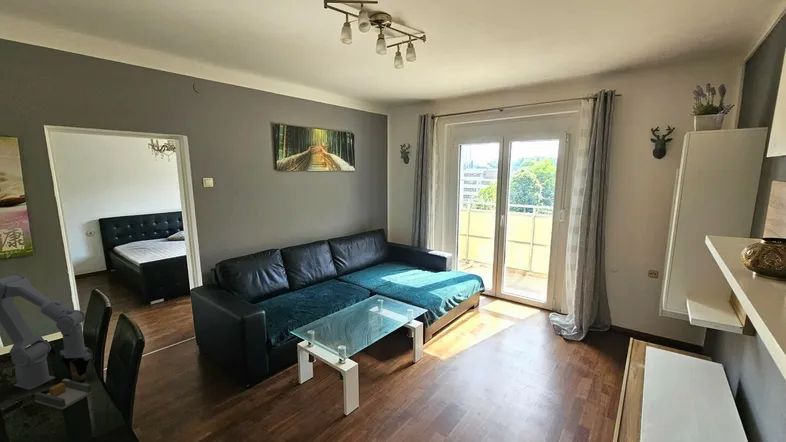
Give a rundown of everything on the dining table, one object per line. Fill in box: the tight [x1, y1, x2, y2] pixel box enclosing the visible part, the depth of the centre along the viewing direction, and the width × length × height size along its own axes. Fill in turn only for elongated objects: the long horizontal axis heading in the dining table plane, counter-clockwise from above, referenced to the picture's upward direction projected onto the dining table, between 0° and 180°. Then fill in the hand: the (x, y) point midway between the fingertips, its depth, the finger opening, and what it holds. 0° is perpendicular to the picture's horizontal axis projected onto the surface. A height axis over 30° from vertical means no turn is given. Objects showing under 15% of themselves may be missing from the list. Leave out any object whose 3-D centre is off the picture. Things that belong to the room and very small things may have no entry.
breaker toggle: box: [48, 382, 66, 396], centre depth 121 cm, size 2×4×3 cm, turn 165°
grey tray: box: [33, 378, 93, 410], centre depth 121 cm, size 14×9×4 cm, turn 75°
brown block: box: [70, 358, 87, 382], centre depth 132 cm, size 4×4×8 cm
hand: (78, 373), depth 132 cm, fingers closed on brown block, 4 cm apart
